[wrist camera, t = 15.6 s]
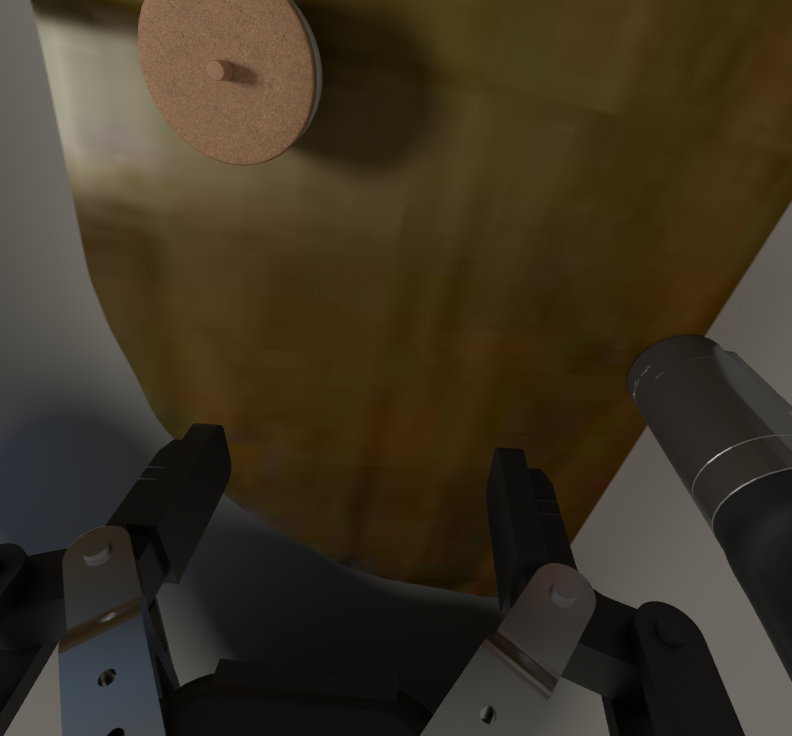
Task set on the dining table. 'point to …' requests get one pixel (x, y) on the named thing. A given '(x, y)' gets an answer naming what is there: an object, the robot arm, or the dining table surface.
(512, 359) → the dining table surface
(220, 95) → the lidded jar
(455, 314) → the dining table surface
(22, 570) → the robot arm
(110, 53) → the dining table surface
